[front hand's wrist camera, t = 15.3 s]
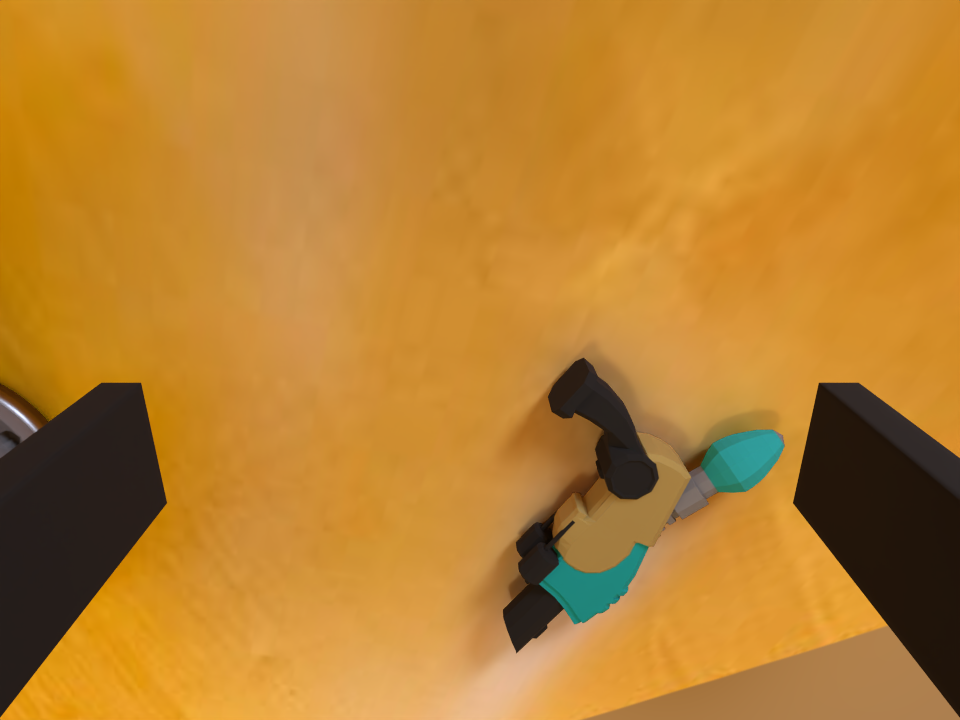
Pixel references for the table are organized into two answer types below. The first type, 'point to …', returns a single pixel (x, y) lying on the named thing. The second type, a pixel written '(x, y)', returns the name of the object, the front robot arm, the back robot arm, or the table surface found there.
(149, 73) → the table surface
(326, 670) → the table surface
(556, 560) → the toy gun
